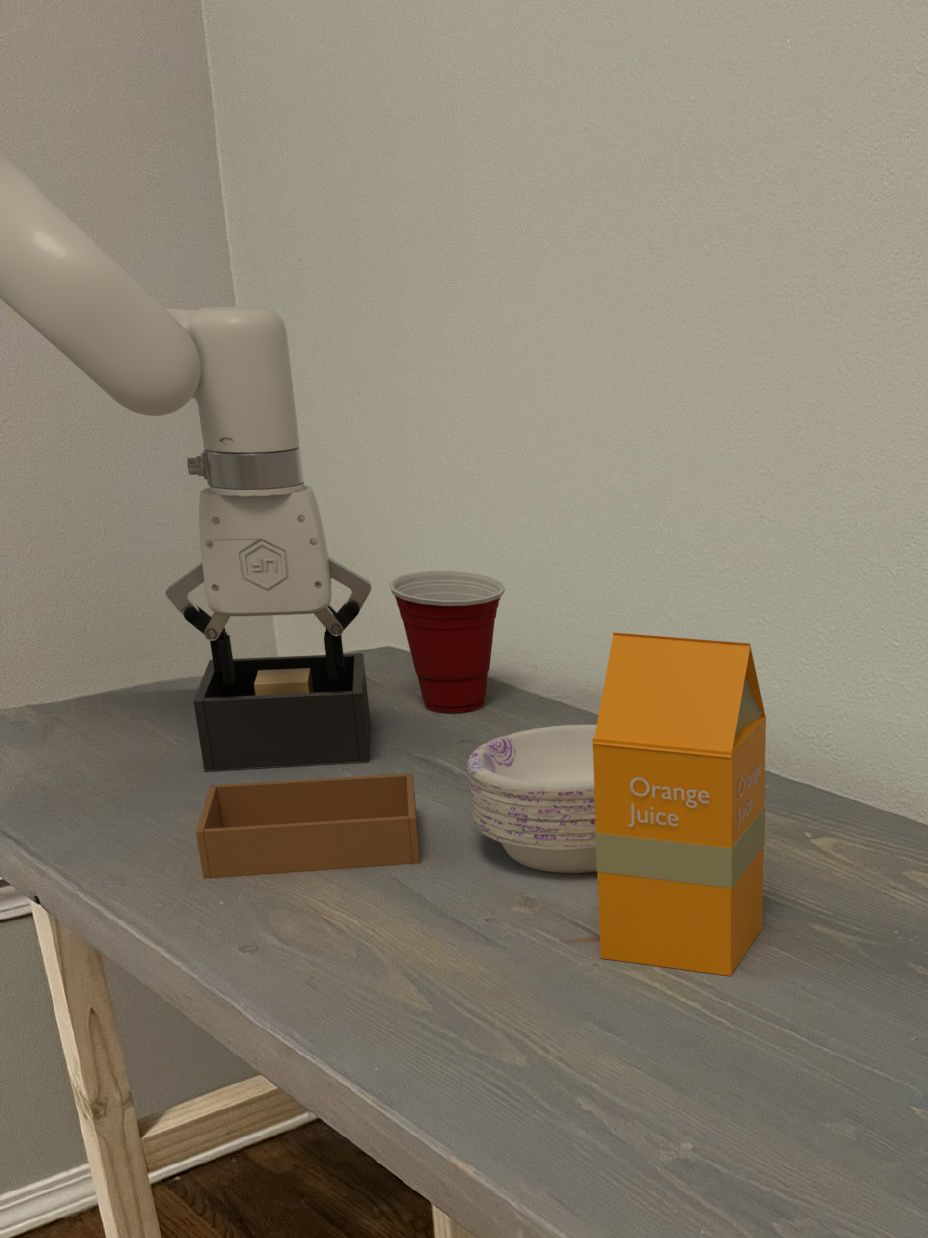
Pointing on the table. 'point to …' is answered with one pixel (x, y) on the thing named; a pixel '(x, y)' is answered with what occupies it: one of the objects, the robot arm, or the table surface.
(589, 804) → the paper bowls
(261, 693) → the block
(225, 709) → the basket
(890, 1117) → the table surface
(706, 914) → the orange juice
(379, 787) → the box
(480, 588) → the plastic cup
